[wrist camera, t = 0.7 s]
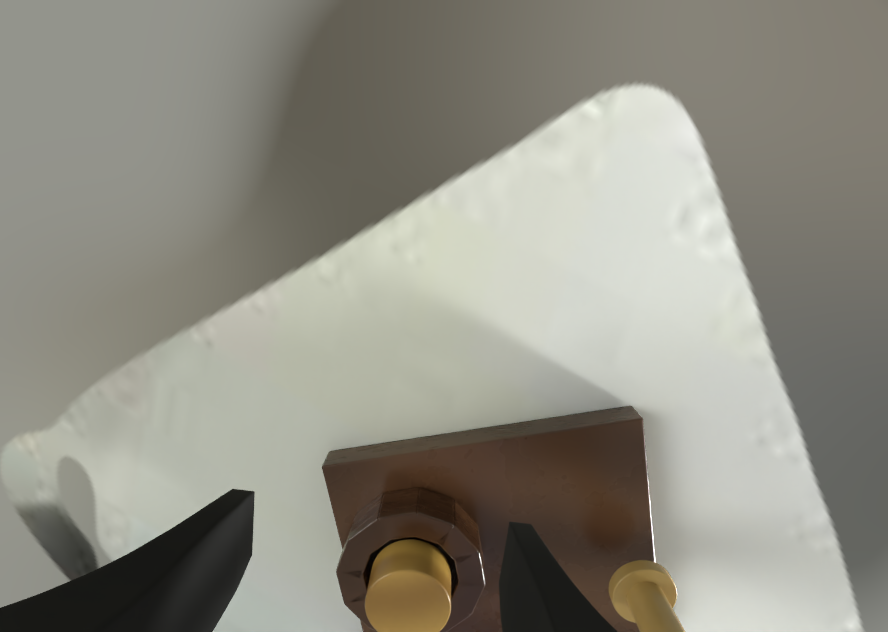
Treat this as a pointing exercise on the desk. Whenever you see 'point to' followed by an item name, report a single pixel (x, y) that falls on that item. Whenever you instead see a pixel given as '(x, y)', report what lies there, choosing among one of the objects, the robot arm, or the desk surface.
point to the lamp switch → (409, 588)
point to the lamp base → (499, 506)
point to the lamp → (645, 596)
